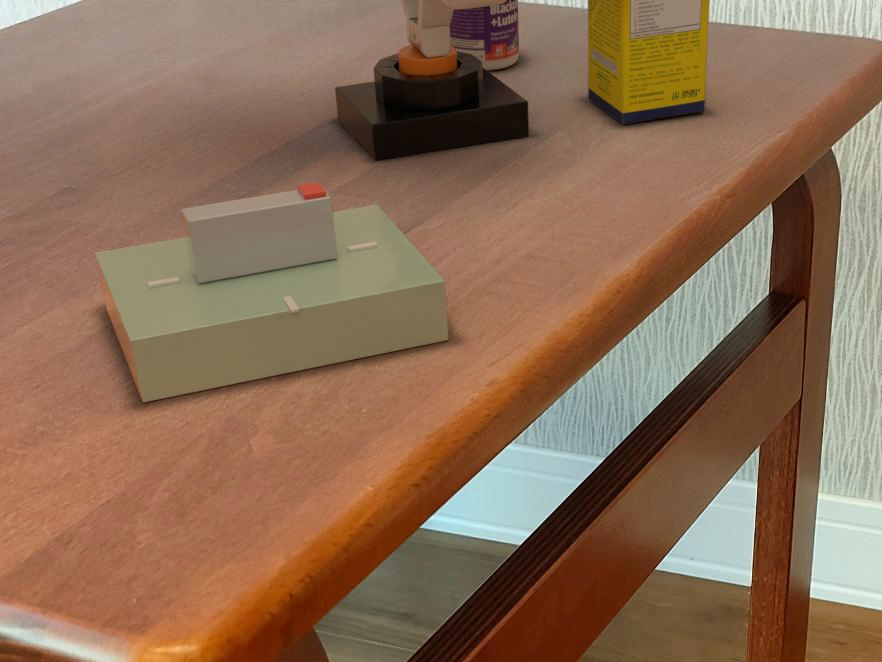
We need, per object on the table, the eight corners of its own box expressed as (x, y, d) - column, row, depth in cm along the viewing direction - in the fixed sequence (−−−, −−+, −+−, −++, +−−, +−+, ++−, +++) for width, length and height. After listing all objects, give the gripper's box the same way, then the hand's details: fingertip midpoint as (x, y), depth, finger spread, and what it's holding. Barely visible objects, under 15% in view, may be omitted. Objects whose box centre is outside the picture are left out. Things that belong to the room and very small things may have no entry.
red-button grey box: (198, 284, 63) (186, 215, 61) (191, 270, 64) (179, 203, 62) (338, 259, 65) (331, 191, 63) (328, 246, 66) (321, 180, 64)
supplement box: (666, 87, 95) (672, -87, 88) (706, 114, 90) (715, -68, 84) (584, 99, 93) (585, -78, 87) (621, 126, 88) (624, -58, 82)
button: (410, 91, 85) (408, 62, 84) (392, 75, 88) (390, 46, 87) (466, 83, 86) (464, 54, 85) (446, 67, 89) (444, 39, 88)
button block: (375, 160, 84) (369, 94, 82) (337, 121, 90) (331, 57, 88) (529, 136, 87) (527, 71, 85) (483, 99, 93) (480, 37, 91)
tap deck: (144, 406, 60) (130, 340, 58) (105, 307, 68) (92, 246, 66) (451, 343, 64) (447, 280, 63) (380, 257, 72) (375, 198, 71)
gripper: (308, -221, 85) (332, 16, 93) (417, -174, 69) (435, 105, 77) (407, -228, 87) (423, 4, 95) (535, -185, 71) (540, 89, 79)
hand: (429, 50), depth 86 cm, fingers closed, pressing on button
